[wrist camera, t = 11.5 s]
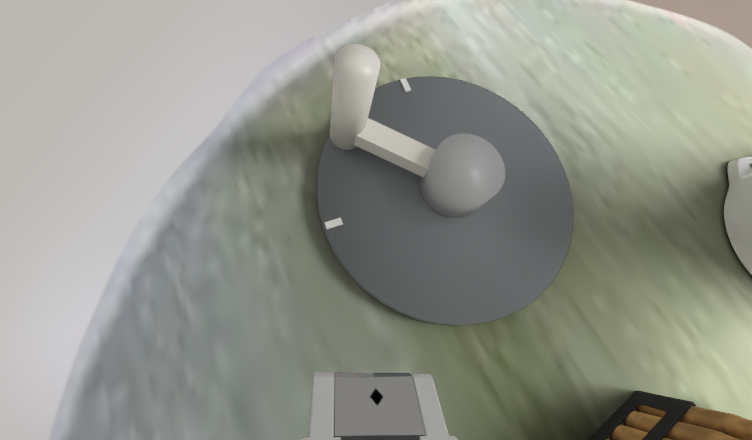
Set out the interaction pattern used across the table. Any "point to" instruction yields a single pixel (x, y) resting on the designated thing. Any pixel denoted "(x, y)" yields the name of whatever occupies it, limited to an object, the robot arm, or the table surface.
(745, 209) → the robot arm
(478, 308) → the dial plate
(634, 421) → the ammunition clip
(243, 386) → the table surface
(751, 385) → the table surface
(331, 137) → the dial lever
